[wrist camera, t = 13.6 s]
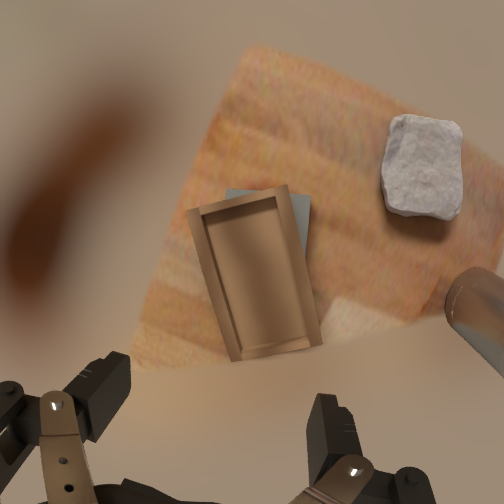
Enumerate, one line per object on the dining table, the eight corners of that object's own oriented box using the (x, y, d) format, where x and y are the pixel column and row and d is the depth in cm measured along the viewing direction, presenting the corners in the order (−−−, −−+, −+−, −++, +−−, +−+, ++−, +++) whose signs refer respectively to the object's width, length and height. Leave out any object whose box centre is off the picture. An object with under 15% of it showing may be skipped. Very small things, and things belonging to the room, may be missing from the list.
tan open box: (285, 184, 32) (287, 184, 27) (317, 322, 34) (322, 344, 29) (199, 206, 33) (185, 210, 28) (237, 338, 36) (231, 362, 30)
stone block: (376, 214, 36) (452, 220, 34) (381, 216, 32) (465, 223, 29) (376, 116, 34) (452, 125, 32) (380, 106, 30) (465, 116, 27)
